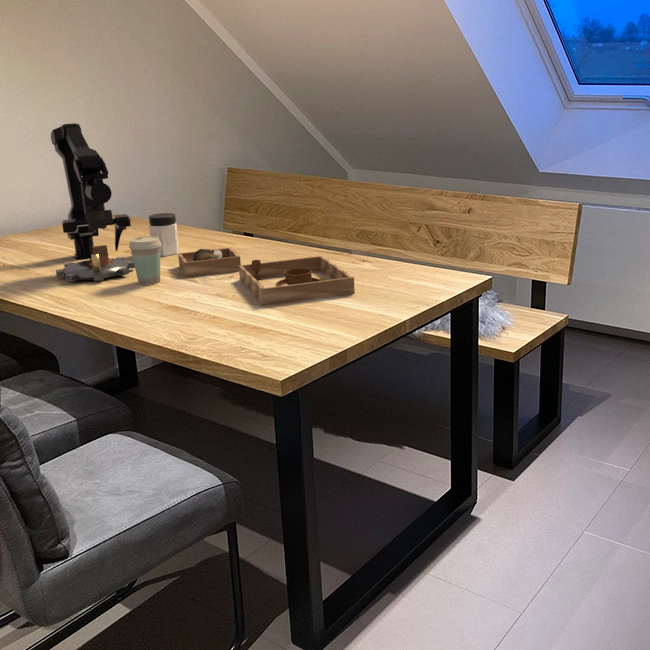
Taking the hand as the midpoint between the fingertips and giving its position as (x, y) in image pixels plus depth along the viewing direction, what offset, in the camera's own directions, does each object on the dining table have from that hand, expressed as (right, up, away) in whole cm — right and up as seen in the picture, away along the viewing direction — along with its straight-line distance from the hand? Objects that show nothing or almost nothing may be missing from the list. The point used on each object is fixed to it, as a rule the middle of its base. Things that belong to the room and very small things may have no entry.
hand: (100, 252), depth 232 cm
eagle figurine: (+32, -6, -4) cm, 33 cm away
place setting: (+57, -11, -21) cm, 62 cm away
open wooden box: (+32, -5, -3) cm, 33 cm away
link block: (0, -2, +1) cm, 2 cm away
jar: (+16, +1, +18) cm, 24 cm away
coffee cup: (+17, -10, -14) cm, 25 cm away
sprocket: (0, -7, -4) cm, 7 cm away
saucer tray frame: (+58, -11, -24) cm, 63 cm away
